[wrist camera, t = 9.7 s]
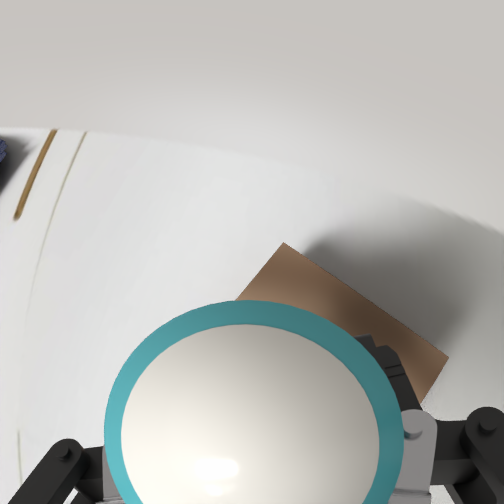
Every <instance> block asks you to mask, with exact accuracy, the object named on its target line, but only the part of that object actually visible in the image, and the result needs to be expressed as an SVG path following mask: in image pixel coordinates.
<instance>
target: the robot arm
mask: <svg viewBox="0 0 504 504" xmlns="http://www.w3.org/2000/svg"><path fill="white" fill-rule="evenodd" d="M352 337H353V338H354V339H356V340H357V341H358V342H359V343H361V344H362V346H363V347H364V348H365V349H366V350H367V351H368V352H369V353H370V354H371V355H372V356H373V357H374V359H375V360H376V361H377V363H378V364H379V366H380V367H381V369H382V370H383V371H384V373H385V374H386V376H387V378H388V380H389V382H390V384H391V386H392V388H393V390H394V392H395V395H396V398H397V401H398V404H399V407H400V411H401V415H402V422H403V428H404V453H403V459H402V465H401V470H400V474H399V477H398V480H397V483H396V486H395V488H394V490H393V492H392V494H391V496H390V498H389V500H388V502H387V504H431V493H429V487H430V485H444V486H445V488H446V490H447V491H448V493H449V495H450V496H451V498H452V500H453V502H454V503H455V504H504V413H503V412H502V411H500V410H499V409H496V408H493V407H481V408H478V409H476V410H474V411H473V412H472V413H471V414H470V415H469V416H468V418H467V420H462V421H440V420H436V419H434V418H433V417H432V416H431V415H430V414H429V413H427V412H425V411H423V410H422V408H421V406H420V404H419V401H418V399H417V397H416V394H415V392H414V390H413V387H412V385H411V383H410V381H409V378H408V376H407V375H406V372H405V369H404V367H403V366H402V363H401V361H400V359H399V356H398V354H397V353H396V352H395V351H394V350H393V349H391V348H390V347H389V346H388V345H384V346H379V347H376V345H375V343H374V341H373V338H372V336H371V334H370V333H369V334H363V335H358V336H352ZM73 488H75V489H76V490H77V491H78V493H77V495H76V496H75V498H74V499H73V501H72V502H71V504H125V502H124V500H123V499H122V497H121V495H120V494H119V492H118V489H117V487H116V485H115V483H114V480H113V478H112V475H111V472H110V469H109V465H108V462H107V456H106V450H105V444H104V446H101V447H93V448H85V449H84V448H83V447H82V446H81V445H80V444H79V443H78V442H77V441H76V440H74V439H63V440H60V441H58V442H57V443H55V444H54V445H53V446H52V447H51V448H50V450H49V451H48V452H47V453H46V455H45V456H44V457H43V459H42V460H41V461H40V462H39V464H38V465H37V466H36V468H35V469H34V470H33V471H32V473H31V474H30V475H29V477H28V478H27V479H26V480H25V482H24V483H23V484H22V486H21V487H20V488H19V490H18V491H17V492H16V494H15V495H14V496H13V497H12V499H11V500H10V501H9V503H8V504H63V503H64V501H65V500H66V498H67V497H68V496H69V494H70V493H71V491H72V490H73Z"/></svg>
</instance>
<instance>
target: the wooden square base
mask: <svg viewBox="0 0 504 504" xmlns="http://www.w3.org/2000/svg"><path fill="white" fill-rule="evenodd" d="M239 300H258V301H270V302H276V303H281V304H287V305H291V306H294V307H297V308H300V309H303V310H307V311H309V312H312V313H314V314H316V315H318V316H320V317H322V318H325V319H327V320H329V321H330V322H332V323H333V324H335V325H337V326H338V327H340V328H341V329H343V330H345V331H346V332H347V333H348V334H350V335H351V336H358V335H363V334H369V333H370V334H371V336H372V338H373V341H374V343H375V345H376V347H379V346H384V345H388V346H389V347H390V348H391V349H393V350H394V351H395V352H396V353H397V354H398V356H399V359H400V361H401V363H402V366H403V367H404V369H405V372H406V375H407V376H408V378H409V381H410V383H411V385H412V387H413V390H414V392H415V394H416V397H417V399H418V401H419V404H420V403H421V402H422V400H423V399H424V397H425V396H426V394H427V393H428V391H429V390H430V388H431V387H432V385H433V383H434V382H435V380H436V379H437V377H438V375H439V374H440V372H441V370H442V369H443V367H444V365H445V363H446V362H447V360H448V358H449V357H448V356H446V355H445V354H444V353H442V352H441V351H439V350H438V349H437V348H435V347H434V346H433V345H431V344H430V343H428V342H427V341H426V340H424V339H423V338H421V337H420V336H419V335H417V334H416V333H414V332H413V331H412V330H410V329H409V328H407V327H406V326H405V325H403V324H402V323H400V322H399V321H398V320H396V319H395V318H393V317H392V316H390V315H389V314H388V313H386V312H385V311H383V310H382V309H380V308H379V307H378V306H376V305H375V304H373V303H372V302H370V301H369V300H368V299H366V298H365V297H363V296H362V295H360V294H359V293H357V292H356V291H355V290H353V289H352V288H350V287H349V286H347V285H346V284H344V283H343V282H341V281H340V280H339V279H337V278H336V277H334V276H333V275H331V274H330V273H328V272H327V271H325V270H324V269H322V268H321V267H319V266H318V265H317V264H315V263H314V262H312V261H311V260H309V259H308V258H306V257H305V256H303V255H302V254H300V253H299V252H297V251H296V250H294V249H293V248H291V247H290V246H288V245H287V244H285V243H284V242H283V243H282V245H281V246H280V247H279V248H278V250H277V251H276V252H275V253H274V254H273V256H272V257H271V258H270V259H269V260H268V262H267V263H266V264H265V265H264V267H263V268H262V269H261V270H260V271H259V273H258V274H257V275H256V276H255V277H254V279H253V280H252V281H251V282H250V283H249V285H248V286H247V287H246V288H245V289H244V291H243V292H242V293H241V294H240V295H239V297H238V298H237V299H236V300H235V301H239Z"/></svg>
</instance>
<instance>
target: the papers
mask: <svg viewBox="0 0 504 504" xmlns="http://www.w3.org/2000/svg"><path fill="white" fill-rule="evenodd" d="M0 142H1V143H0V162H1V161H2V159H3V158H4V157H5V155H6V154H7V153H6V152H4V150H5V148H6V147H7V145H5V144H4V143H5V141H3V140H2V139H0Z"/></svg>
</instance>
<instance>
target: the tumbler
mask: <svg viewBox="0 0 504 504" xmlns="http://www.w3.org/2000/svg"><path fill="white" fill-rule="evenodd" d="M104 443H105V450H106V456H107V462H108V465H109V469H110V472H111V475H112V478H113V480H114V483H115V485H116V487H117V489H118V492H119V494H120V495H121V497H122V499H123V500H124V502H125V504H387V502H388V500H389V498H390V496H391V494H392V492H393V490H394V488H395V486H396V483H397V480H398V477H399V474H400V470H401V465H402V459H403V453H404V428H403V422H402V415H401V411H400V407H399V404H398V401H397V398H396V395H395V392H394V390H393V388H392V386H391V384H390V382H389V380H388V378H387V376H386V374H385V373H384V371H383V370H382V369H381V367H380V366H379V364H378V363H377V361H376V360H375V359H374V357H373V356H372V355H371V354H370V353H369V352H368V351H367V350H366V349H365V348H364V347H363V346H362V344H361V343H359V342H358V341H357V340H356V339H354V338H353V337H352V336H351V335H350V334H348V333H347V332H346V331H345V330H343V329H341V328H340V327H338V326H337V325H335V324H333V323H332V322H330V321H329V320H327V319H325V318H322V317H320V316H318V315H316V314H314V313H312V312H309V311H307V310H303V309H300V308H297V307H294V306H291V305H287V304H281V303H276V302H270V301H258V300H239V301H226V302H221V303H216V304H210V305H207V306H204V307H200V308H197V309H194V310H191V311H189V312H187V313H184V314H182V315H180V316H178V317H176V318H174V319H172V320H170V321H169V322H167V323H166V324H164V325H162V326H161V327H159V328H158V329H157V330H155V331H154V332H153V333H152V334H151V335H149V336H148V337H147V338H146V339H145V340H144V341H143V342H142V343H141V344H140V345H139V346H138V347H137V348H136V349H135V350H134V351H133V353H132V354H131V355H130V357H129V358H128V359H127V361H126V362H125V364H124V365H123V367H122V369H121V370H120V372H119V374H118V376H117V378H116V380H115V382H114V385H113V387H112V390H111V393H110V395H109V399H108V404H107V408H106V413H105V423H104Z"/></svg>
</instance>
